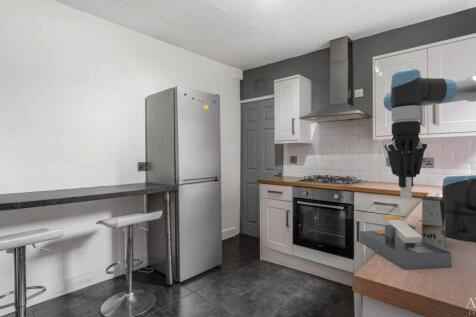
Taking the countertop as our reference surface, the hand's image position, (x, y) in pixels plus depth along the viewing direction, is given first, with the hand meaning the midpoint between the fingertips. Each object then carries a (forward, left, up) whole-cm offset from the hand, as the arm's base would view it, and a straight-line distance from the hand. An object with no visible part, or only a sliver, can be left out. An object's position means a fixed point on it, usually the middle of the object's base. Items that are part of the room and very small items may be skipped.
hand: (405, 197), depth 81 cm
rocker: (0, -2, -10) cm, 10 cm away
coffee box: (-18, -9, -18) cm, 27 cm away
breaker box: (0, -2, -18) cm, 18 cm away
